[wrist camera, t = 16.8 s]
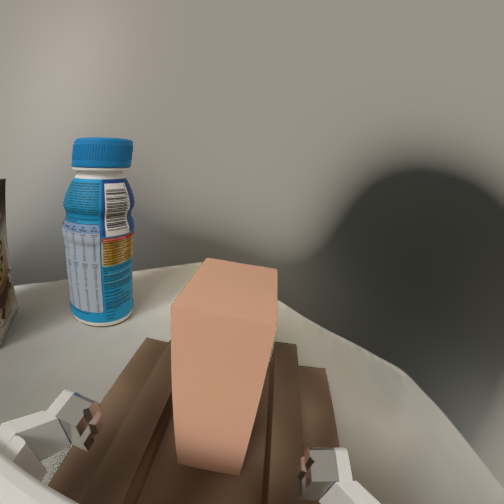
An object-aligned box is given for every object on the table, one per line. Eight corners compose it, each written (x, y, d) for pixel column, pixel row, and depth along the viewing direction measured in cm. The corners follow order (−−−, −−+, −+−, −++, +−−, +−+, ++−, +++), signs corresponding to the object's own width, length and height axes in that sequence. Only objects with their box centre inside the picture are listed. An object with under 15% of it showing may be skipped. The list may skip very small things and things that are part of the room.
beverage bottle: (65, 328, 26) (57, 137, 20) (76, 294, 33) (75, 140, 27) (135, 329, 29) (141, 138, 23) (134, 295, 36) (141, 142, 31)
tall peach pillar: (177, 463, 14) (171, 305, 10) (197, 403, 20) (206, 257, 16) (239, 475, 14) (277, 324, 10) (248, 412, 19) (277, 269, 16)
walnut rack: (47, 503, 8) (23, 480, 7) (147, 345, 27) (145, 316, 26) (346, 566, 7) (374, 555, 6) (322, 375, 26) (332, 348, 25)
